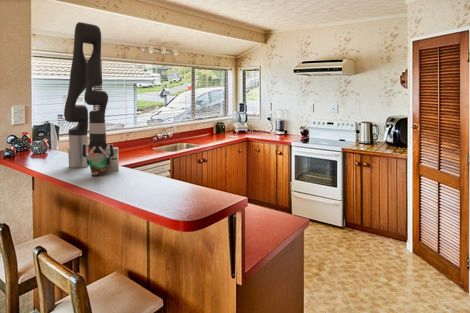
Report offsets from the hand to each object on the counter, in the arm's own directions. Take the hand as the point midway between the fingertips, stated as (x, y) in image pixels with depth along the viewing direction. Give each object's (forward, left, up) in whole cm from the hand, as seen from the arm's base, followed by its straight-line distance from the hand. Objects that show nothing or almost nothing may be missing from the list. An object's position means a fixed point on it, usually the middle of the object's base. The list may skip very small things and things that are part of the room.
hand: (98, 165), depth 175 cm
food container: (+2, 0, -4) cm, 5 cm away
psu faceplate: (+2, +9, -5) cm, 10 cm away
